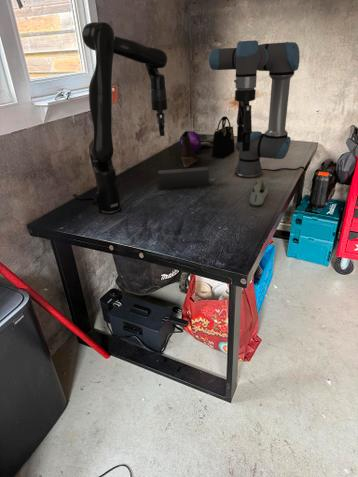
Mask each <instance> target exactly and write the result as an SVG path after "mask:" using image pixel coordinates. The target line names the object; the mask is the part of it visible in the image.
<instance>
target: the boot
mask: <svg viewBox="0 0 358 477" xmlns="http://www.w3.org/2000/svg"><path fill="white" fill-rule="evenodd" d="M188 131H189V130H186V131H184V132H183V133H182V134H181V136H182V138H181V140H182V149H181V151H180V158H181V162H182V165H183V167H184V169H186V168H190V167H191V165H193V164H195V163H196V162H197V161H198V156H197V153H196V152H193V149H192V145H191V142H190V137H189V132H188Z"/></svg>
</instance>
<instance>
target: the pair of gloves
mask: <svg viewBox="0 0 358 477" xmlns="http://www.w3.org/2000/svg"><path fill="white" fill-rule="evenodd" d="M205 138H206V139H201V145H200V148H205V147H210V148H213V140H214V133H213V134H211V135H210V134H208V133H206V135H205ZM200 148H199V149H200Z"/></svg>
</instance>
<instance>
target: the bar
mask: <svg viewBox="0 0 358 477" xmlns="http://www.w3.org/2000/svg"><path fill="white" fill-rule="evenodd" d="M209 171H210V170H209V167H208V166H201V167H199V166H198V167H188V168H175V169H174V168H173V169H163V170H157V177H158V185H159V186H158V187H159V191H163V190H164V191H165V190H174V189H176V190H177V189H186V188H198V187H209V186H210V172H209Z"/></svg>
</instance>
